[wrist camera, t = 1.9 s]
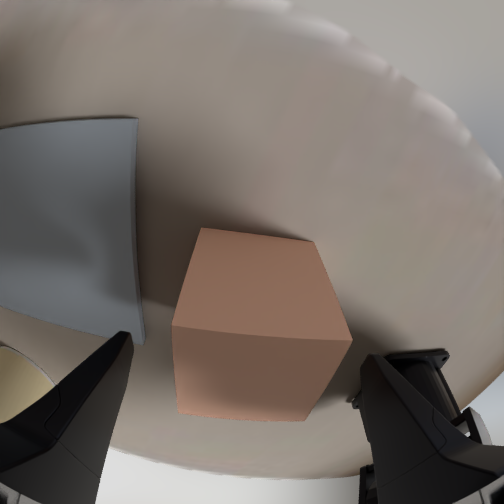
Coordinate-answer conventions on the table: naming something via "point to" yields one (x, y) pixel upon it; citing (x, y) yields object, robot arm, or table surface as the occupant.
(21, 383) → the coffee cup
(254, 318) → the terracotta block
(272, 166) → the table surface
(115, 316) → the slate mat
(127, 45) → the table surface
